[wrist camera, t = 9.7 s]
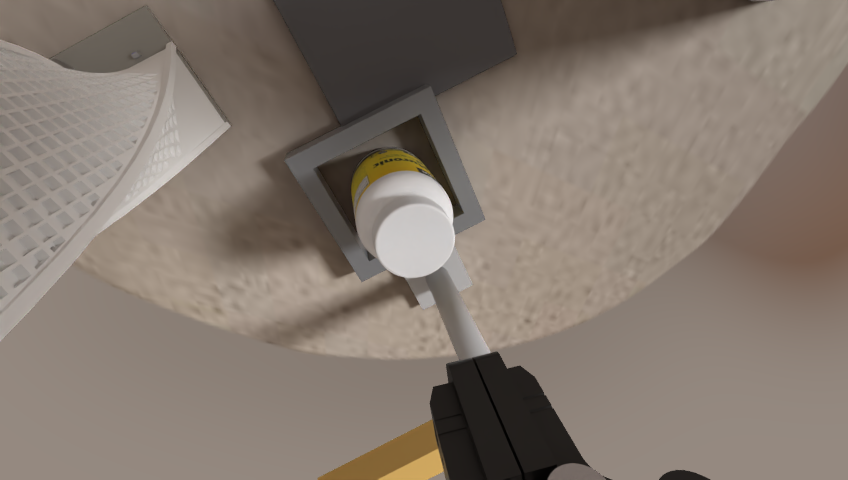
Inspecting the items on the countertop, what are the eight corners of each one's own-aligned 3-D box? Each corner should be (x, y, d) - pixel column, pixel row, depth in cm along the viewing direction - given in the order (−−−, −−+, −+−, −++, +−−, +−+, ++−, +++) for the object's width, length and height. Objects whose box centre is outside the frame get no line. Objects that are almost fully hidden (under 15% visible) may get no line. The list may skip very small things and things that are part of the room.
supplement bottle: (439, 159, 29) (487, 208, 20) (412, 228, 30) (445, 302, 22) (363, 133, 27) (380, 175, 18) (339, 208, 29) (344, 279, 20)
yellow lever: (508, 368, 20) (526, 399, 18) (524, 400, 21) (542, 432, 20) (312, 468, 20) (310, 509, 18) (339, 495, 21) (340, 536, 20)
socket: (424, 83, 26) (495, 111, 15) (499, 264, 33) (586, 375, 22) (286, 153, 26) (256, 232, 15) (391, 319, 33) (422, 457, 22)
